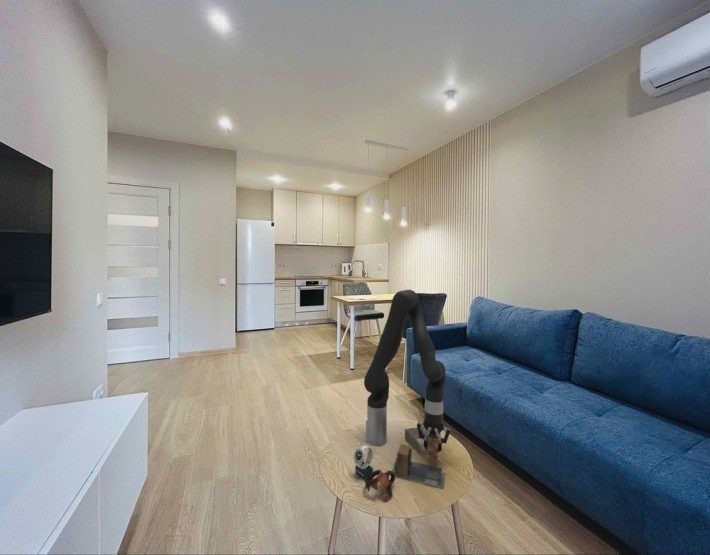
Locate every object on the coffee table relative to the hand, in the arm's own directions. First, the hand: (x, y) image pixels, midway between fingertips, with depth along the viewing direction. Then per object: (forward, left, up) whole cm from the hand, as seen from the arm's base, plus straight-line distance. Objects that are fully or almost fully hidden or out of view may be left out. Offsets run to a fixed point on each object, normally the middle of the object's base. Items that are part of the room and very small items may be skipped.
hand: (432, 449), depth 125 cm
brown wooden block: (0, 0, -2) cm, 2 cm away
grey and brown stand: (-5, -10, -6) cm, 13 cm away
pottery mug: (-16, -24, -6) cm, 29 cm away
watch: (-25, -17, -6) cm, 31 cm away
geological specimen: (-6, +12, -6) cm, 14 cm away
